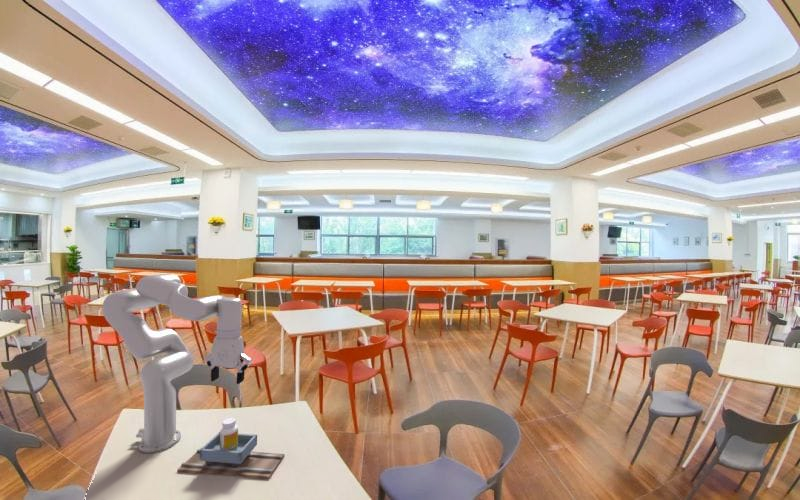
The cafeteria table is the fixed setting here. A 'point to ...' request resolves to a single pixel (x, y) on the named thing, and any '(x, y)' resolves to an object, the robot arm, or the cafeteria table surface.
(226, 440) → the supplement bottle
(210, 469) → the track
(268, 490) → the cafeteria table surface
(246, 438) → the blue shallow tray
